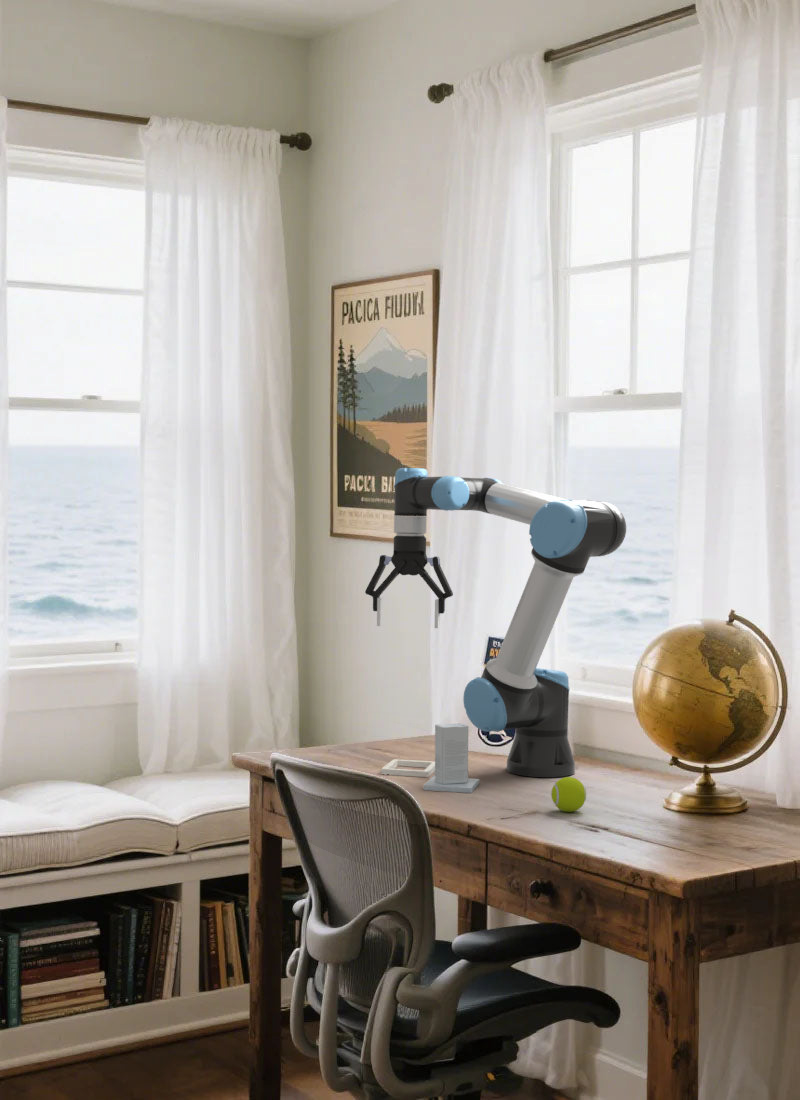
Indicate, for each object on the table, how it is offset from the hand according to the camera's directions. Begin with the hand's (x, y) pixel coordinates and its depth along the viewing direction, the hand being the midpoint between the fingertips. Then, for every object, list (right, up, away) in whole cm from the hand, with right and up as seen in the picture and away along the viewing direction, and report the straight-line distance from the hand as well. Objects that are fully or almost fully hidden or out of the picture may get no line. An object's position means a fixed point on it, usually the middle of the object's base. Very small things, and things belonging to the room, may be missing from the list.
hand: (408, 626), depth 324 cm
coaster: (+9, -32, -31) cm, 45 cm away
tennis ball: (+31, -33, -53) cm, 70 cm away
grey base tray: (0, -31, -14) cm, 34 cm away
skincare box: (+9, -31, -31) cm, 45 cm away
